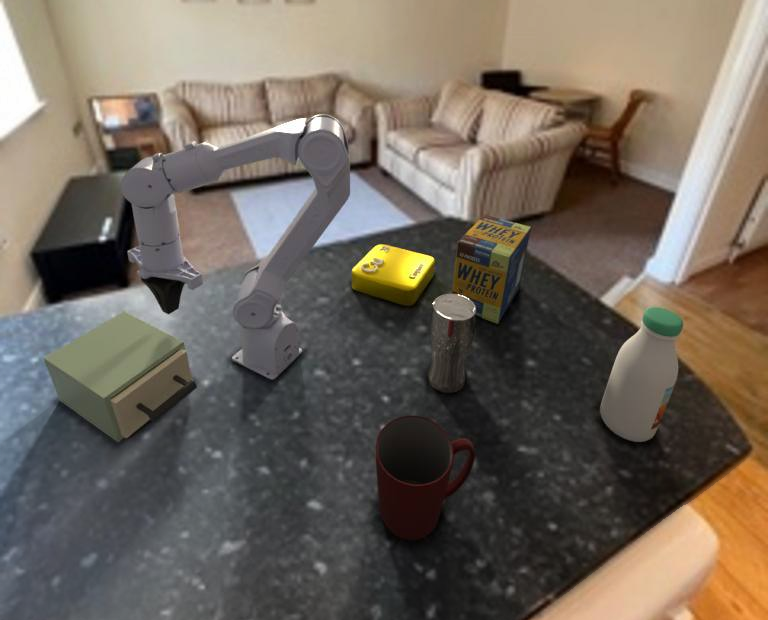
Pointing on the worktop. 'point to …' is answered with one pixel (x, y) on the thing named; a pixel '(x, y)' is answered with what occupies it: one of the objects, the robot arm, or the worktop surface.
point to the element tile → (393, 274)
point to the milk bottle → (643, 377)
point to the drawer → (153, 393)
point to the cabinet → (107, 366)
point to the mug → (416, 474)
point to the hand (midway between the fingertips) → (171, 309)
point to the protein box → (491, 265)
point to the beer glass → (450, 340)
